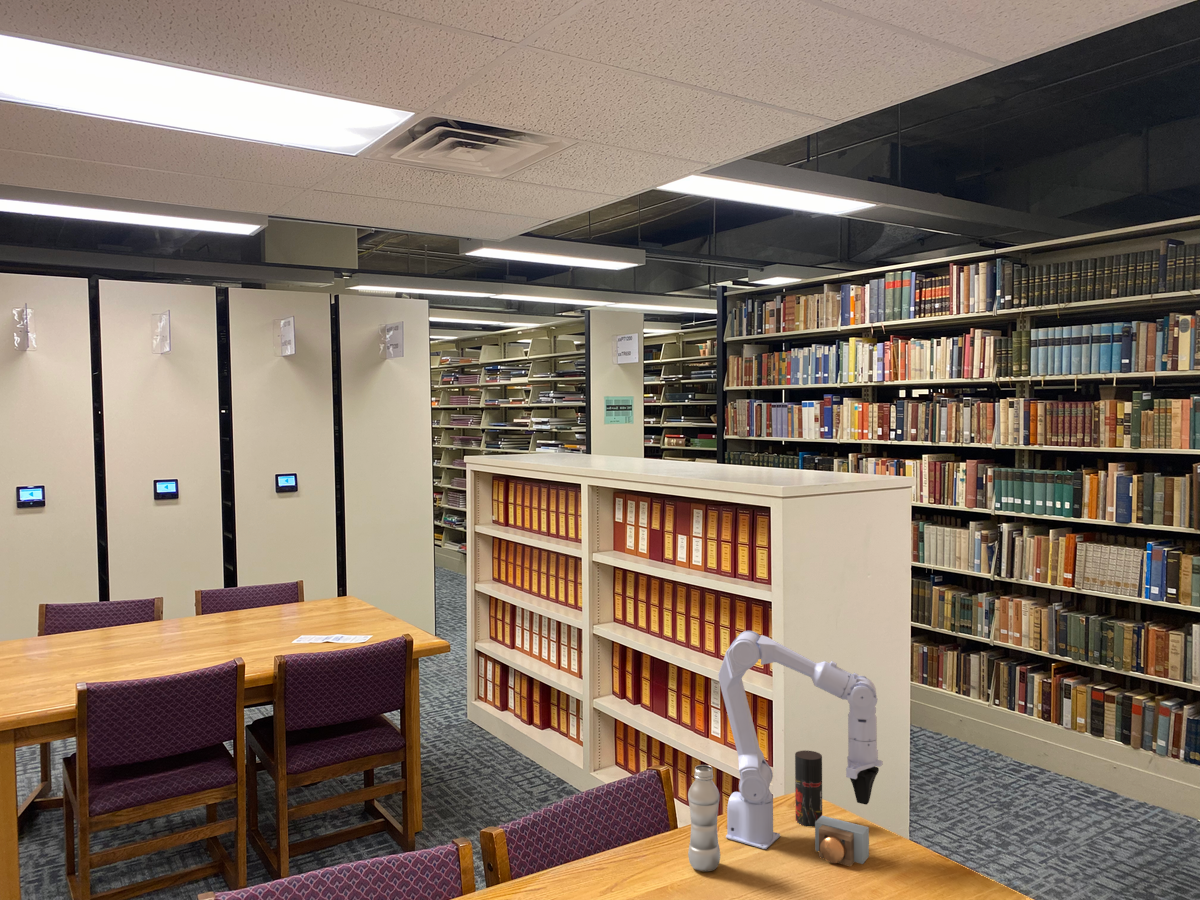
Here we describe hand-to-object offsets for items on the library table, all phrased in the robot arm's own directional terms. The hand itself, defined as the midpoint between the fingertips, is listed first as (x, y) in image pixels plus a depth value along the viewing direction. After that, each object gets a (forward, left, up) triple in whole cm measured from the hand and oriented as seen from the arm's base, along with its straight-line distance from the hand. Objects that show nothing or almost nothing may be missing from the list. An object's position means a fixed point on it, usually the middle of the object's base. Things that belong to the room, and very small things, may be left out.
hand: (862, 802), depth 173 cm
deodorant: (-15, +8, -11) cm, 20 cm away
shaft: (-3, -4, -10) cm, 11 cm away
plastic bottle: (-24, -25, -11) cm, 36 cm away
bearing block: (-4, -3, -10) cm, 11 cm away
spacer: (-4, -6, -10) cm, 13 cm away
